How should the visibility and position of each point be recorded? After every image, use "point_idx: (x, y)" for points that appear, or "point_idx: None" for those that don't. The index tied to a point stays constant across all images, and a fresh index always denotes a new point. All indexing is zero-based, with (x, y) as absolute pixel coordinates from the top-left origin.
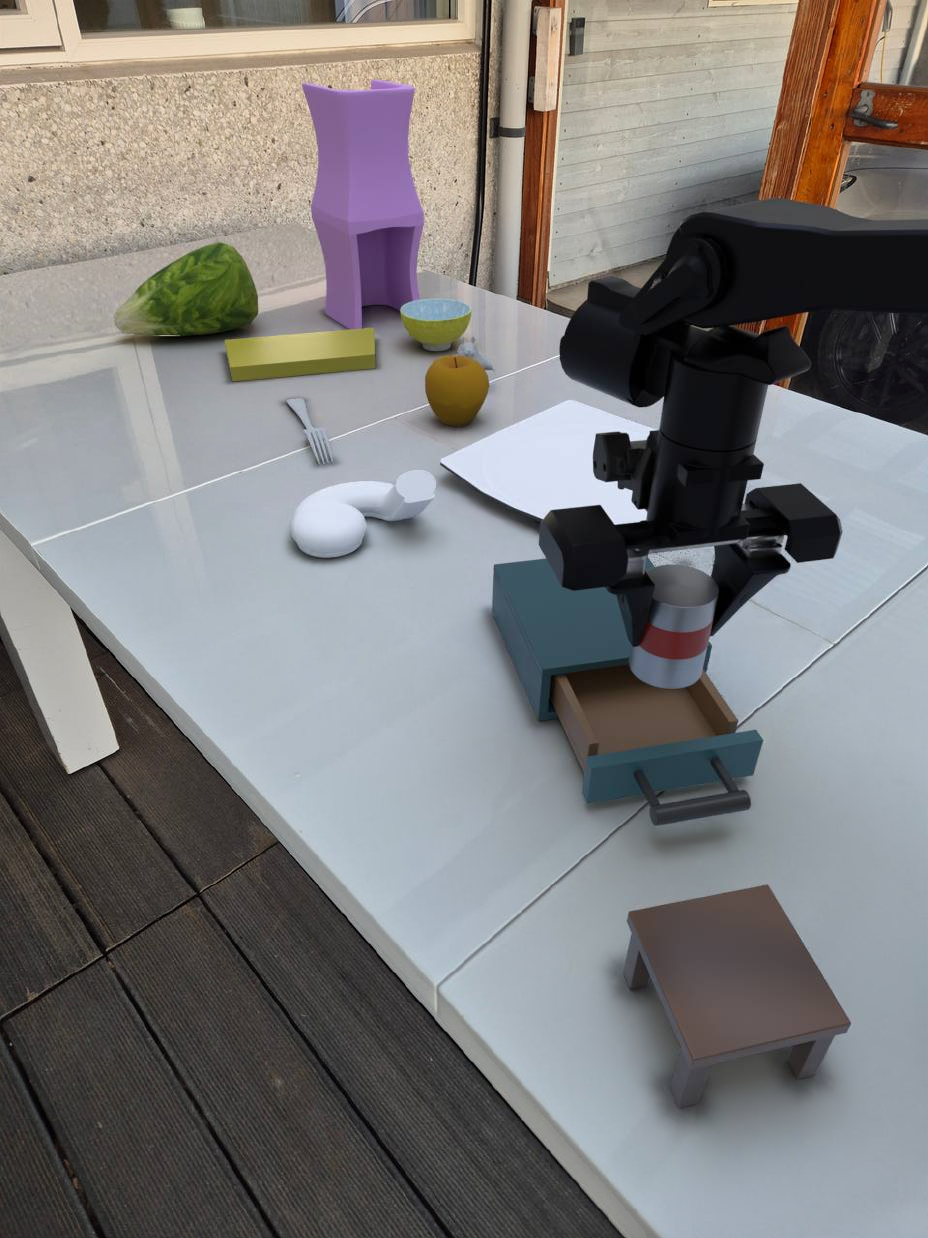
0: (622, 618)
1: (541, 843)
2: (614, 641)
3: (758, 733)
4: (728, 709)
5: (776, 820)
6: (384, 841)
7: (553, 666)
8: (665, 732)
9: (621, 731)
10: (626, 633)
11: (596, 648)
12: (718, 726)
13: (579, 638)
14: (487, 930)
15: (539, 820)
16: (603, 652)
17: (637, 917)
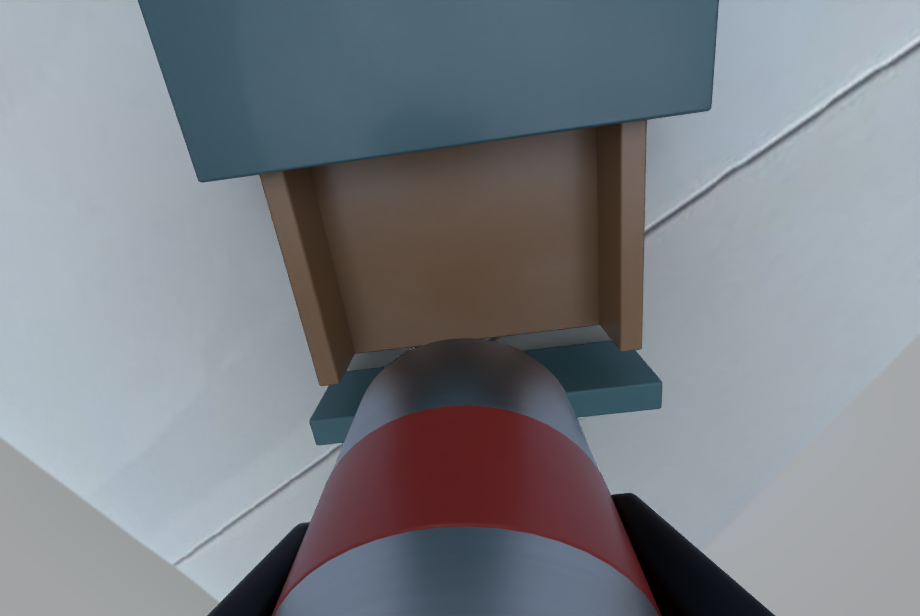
0: (222, 600)
1: (279, 425)
2: (419, 60)
3: (661, 392)
4: (636, 318)
5: (622, 415)
6: (57, 406)
7: (228, 171)
8: (503, 284)
9: (418, 273)
10: (283, 538)
11: (358, 94)
12: (606, 306)
13: (309, 35)
14: (216, 523)
15: (277, 390)
16: (376, 117)
17: None
